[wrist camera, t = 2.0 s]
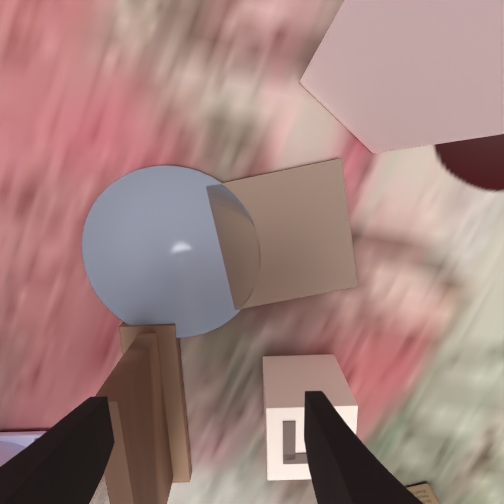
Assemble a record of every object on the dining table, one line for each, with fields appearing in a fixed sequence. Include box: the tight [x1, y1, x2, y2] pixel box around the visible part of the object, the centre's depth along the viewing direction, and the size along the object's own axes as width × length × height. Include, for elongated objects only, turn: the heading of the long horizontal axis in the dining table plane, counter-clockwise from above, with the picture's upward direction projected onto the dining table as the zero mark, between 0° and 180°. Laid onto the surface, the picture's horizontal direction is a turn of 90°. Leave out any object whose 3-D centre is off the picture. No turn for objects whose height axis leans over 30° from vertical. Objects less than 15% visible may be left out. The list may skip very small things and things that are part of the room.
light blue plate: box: [82, 165, 261, 338], centre depth 19 cm, size 11×11×1 cm
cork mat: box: [206, 158, 358, 310], centre depth 19 cm, size 8×8×1 cm
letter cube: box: [263, 354, 358, 480], centre depth 20 cm, size 5×5×5 cm
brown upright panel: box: [95, 322, 192, 504], centre depth 19 cm, size 4×13×7 cm, turn 1°
